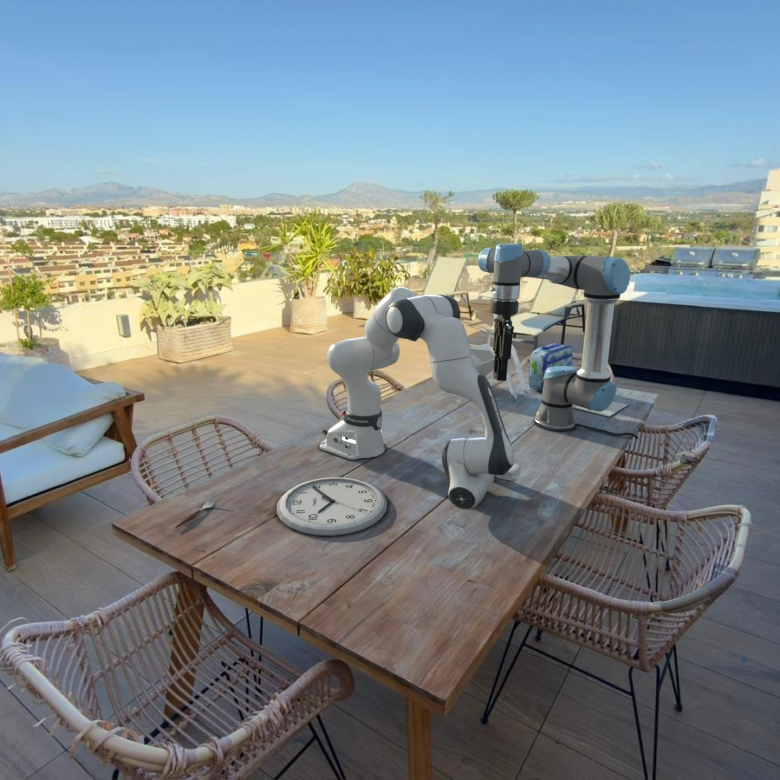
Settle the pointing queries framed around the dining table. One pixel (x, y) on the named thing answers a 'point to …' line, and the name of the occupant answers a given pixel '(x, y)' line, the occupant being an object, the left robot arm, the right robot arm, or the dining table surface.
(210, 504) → the fork
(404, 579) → the dining table surface
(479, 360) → the white plastic object
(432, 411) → the dining table surface
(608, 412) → the invitation card
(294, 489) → the wall clock
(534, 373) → the lunch box
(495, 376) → the cap
